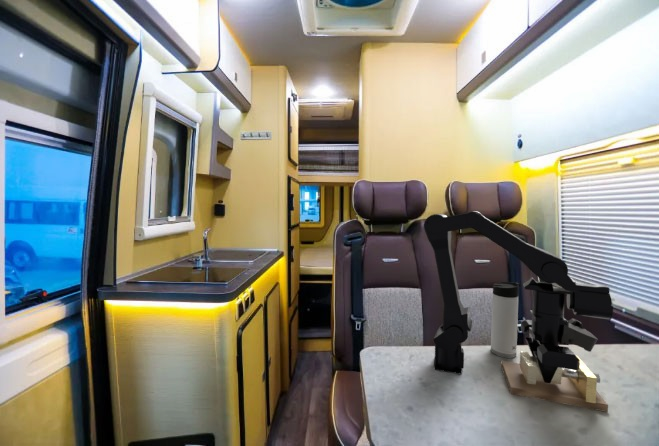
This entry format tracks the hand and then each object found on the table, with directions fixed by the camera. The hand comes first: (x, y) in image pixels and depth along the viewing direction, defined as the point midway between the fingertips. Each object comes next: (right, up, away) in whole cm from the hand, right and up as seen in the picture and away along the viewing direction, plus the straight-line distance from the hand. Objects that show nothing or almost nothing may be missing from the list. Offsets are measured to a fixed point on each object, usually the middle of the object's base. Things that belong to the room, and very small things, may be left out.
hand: (544, 378), depth 69 cm
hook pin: (+2, 0, -1) cm, 3 cm away
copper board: (+2, -2, +1) cm, 3 cm away
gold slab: (+6, -1, -2) cm, 7 cm away
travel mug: (0, -2, +17) cm, 17 cm away
